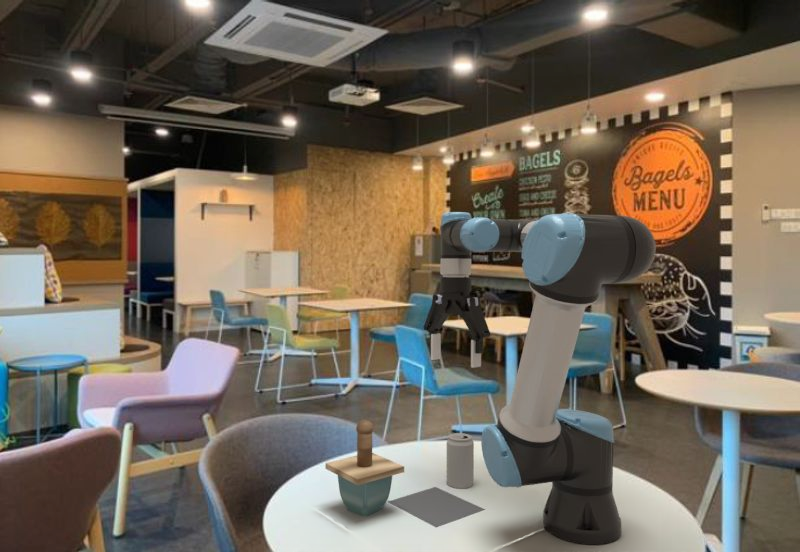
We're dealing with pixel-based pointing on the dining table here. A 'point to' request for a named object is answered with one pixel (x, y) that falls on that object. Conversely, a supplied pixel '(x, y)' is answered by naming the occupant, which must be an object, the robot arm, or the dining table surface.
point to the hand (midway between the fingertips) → (455, 363)
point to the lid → (364, 460)
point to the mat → (436, 506)
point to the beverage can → (460, 461)
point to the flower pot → (365, 495)
